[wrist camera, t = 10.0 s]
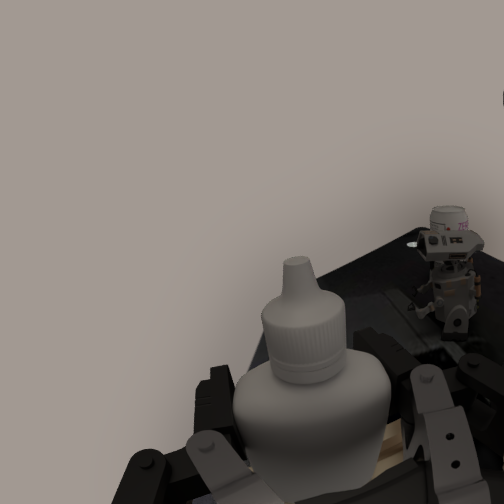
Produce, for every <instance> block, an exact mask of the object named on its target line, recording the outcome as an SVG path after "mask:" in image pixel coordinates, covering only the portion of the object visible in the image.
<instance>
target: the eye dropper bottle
mask: <svg viewBox="0 0 504 504" xmlns="http://www.w3.org/2000/svg"><path fill="white" fill-rule="evenodd" d="M261 314H262V315H261V318H262V324H263V329H264V334H265V339H266V344H267V349H268V354H269V359H270V361H267V362H265V363H263V364H261V365H259V366H257V367H256V368H254V369H252V370H250V371H249V372H247V373H246V374H245V375H243V376H242V377H241V378H240V380H239V381H238V382H237V384H236V388H235V392H234V397H233V408H232V409H233V414H234V418H235V422H236V424H237V427H238V430H239V433H240V435H241V438H242V441H243V443H244V446H245V450H246V454H247V457H248V459H249V461H250V464H251V466H252V469H253V471H254V472H255V473H257V474H258V475H259V476H260V477H261V478H262V479H263V481H264V482H265V483H266V484H267V485H268V486H269V487H270V488H271V489H272V490H273V491H274V492H275V494H276V495H277V496H278V497H279V498H280V499H281V500H282V501H283V502H288V503H294V502H296V501H300V500H304V499H308V498H311V497H315V496H318V495H322V494H325V493H332V492H339V491H346V490H352V489H358V488H361V487H362V486H364V485H365V484H366V483H368V482H369V480H370V479H371V478H372V476H373V473H374V470H375V467H376V464H377V460H378V457H379V453H380V449H381V446H382V442H383V438H384V433H385V429H386V424H387V420H388V414H389V408H390V402H391V382H390V379H389V377H388V375H387V373H386V371H385V369H384V367H383V365H382V364H381V362H380V361H379V360H378V359H377V358H376V357H375V356H373V355H371V354H369V353H366V352H362V351H357V350H351V349H346V318H345V304H344V302H343V300H342V299H341V298H340V297H339V296H338V295H336V294H334V293H332V292H329V291H325V290H321V289H320V288H319V286H318V284H317V281H316V278H315V275H314V272H313V269H312V266H311V263H310V260H309V258H308V257H304V256H299V257H292V258H289V259H287V260H285V261H284V266H283V289H282V294H281V296H279V297H277V298H275V299H273V300H272V301H270V302H269V303H268V304H267V305H266V306H265V308H264V309H263V311H262V313H261Z"/></svg>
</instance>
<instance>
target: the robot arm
mask: <svg viewBox="0 0 504 504" xmlns="http://www.w3.org/2000/svg"><path fill="white" fill-rule="evenodd" d="M503 104H504V93H503ZM353 350H357V351H362V352H366V353H369V354H371V355H373V356H375V357H376V358H377V359H378V360H379V361H380V362H381V364H382V365H383V367H384V369H385V371H386V373H387V375H388V377H389V379H390V382H391V402H390V408H389V415H390V416H391V415H393V414H395V413H397V412H399V413H400V414H401V415H402V416H401V420H400V423H401V433H402V443H403V462H401V463H399V464H397V465H395V466H393V467H391V468H389V469H387V470H385V471H384V472H382V473H381V474H380V475H378V476H377V477H375V478H374V479H373V480H371V481H370V482H368V483H367V484H365V485H364V486H362V487H361V488H358V489H352V490H346V491H339V492H332V493H325V494H322V495H318V496H315V497H311V498H308V499H304V500H300V501H296V502H294V503H295V504H504V471H498V470H490V469H483V468H479V463H478V459H477V454H476V450H475V446H474V442H473V439H472V436H474V437H475V438H477V439H478V440H479V441H481V442H482V443H483V444H485V445H486V446H487V447H489V448H490V449H492V450H493V451H494V452H496V453H497V454H498V455H500V456H501V457H503V460H504V363H503V365H502V366H500V365H499V364H497V363H495V362H493V361H491V360H489V359H487V358H486V357H484V356H482V355H480V354H476V353H469V354H466V355H464V356H462V357H461V358H460V360H459V363H458V366H457V367H453V368H450V369H446V370H441V369H440V368H439V367H437V366H435V365H430V364H424V365H422V364H421V363H420V362H419V361H417V360H416V359H415V358H414V357H413V356H412V355H411V354H410V353H409V352H408V351H407V350H406V349H404V347H402V346H401V345H400V344H399V343H398V342H397V341H396V340H395V339H394V338H393V337H391V336H388V335H386V334H383V333H381V334H378V333H377V332H376V331H375V330H374V329H373V328H371V327H367V328H364V329H361V330H358V331H355V332H354V335H353ZM234 392H235V386H234V383H233V380H232V376H231V373H230V370H229V367H228V365H222V366H217V367H212V368H210V379H209V380H203V381H201V382H200V383H199V385H198V386H197V388H196V394H195V399H196V400H195V413H194V434H193V435H192V436H191V437H190V438H189V439H188V441H187V443H186V446H185V447H183V448H182V449H179V450H177V451H174V452H171V453H168V454H165V455H163V454H162V453H161V452H160V451H158V450H155V449H144V450H141V451H139V452H137V453H135V454H134V455H133V456H132V457H131V459H130V461H129V463H128V465H127V468H126V470H125V472H124V475H123V477H122V480H121V482H120V484H119V487H118V489H117V491H116V494H115V496H114V499H113V501H112V503H111V504H192V501H193V499H195V498H198V497H201V496H204V495H207V494H210V493H211V494H212V496H213V498H214V499H215V501H216V502H217V504H285V503H284V502H283V501H282V500H281V499H280V498H279V497H278V496H277V495H276V494H275V492H274V491H273V490H272V489H271V488H270V487H269V486H268V485H267V484H266V483H265V482H264V481H263V479H262V478H261V477H260V476H259V475H258V474H257V473H255V472H252V471H251V470H250V469H249V468H248V466H247V465H246V464H245V463H244V460H247V456H246V450H245V446H244V443H243V441H242V438H241V435H240V433H239V430H238V427H237V424H236V422H235V418H234V414H233V409H232V408H233V397H234ZM478 393H480V394H481V395H483V396H484V397H486V398H488V399H489V400H490V402H491V407H489V406H487V405H486V404H484V403H483V402H481V401H480V400H478V399H477V398H476V396H477V394H478ZM503 470H504V465H503Z"/></svg>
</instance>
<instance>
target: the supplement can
mask: <svg viewBox="0 0 504 504" xmlns="http://www.w3.org/2000/svg"><path fill="white" fill-rule="evenodd" d="M448 227H449V228H450V230H468V216H467V214H466V212H465V209H464V208H463V207H458V206H437V207H434V208H433V209H432V212H431V215H430V231H445V230H446V229H447V228H448ZM460 261H463V260H460ZM464 261H466V262H467V260H464ZM442 264H444V262H443V261H430V280H432V270H433V268H435V267H438V266H439V265H442Z"/></svg>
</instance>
